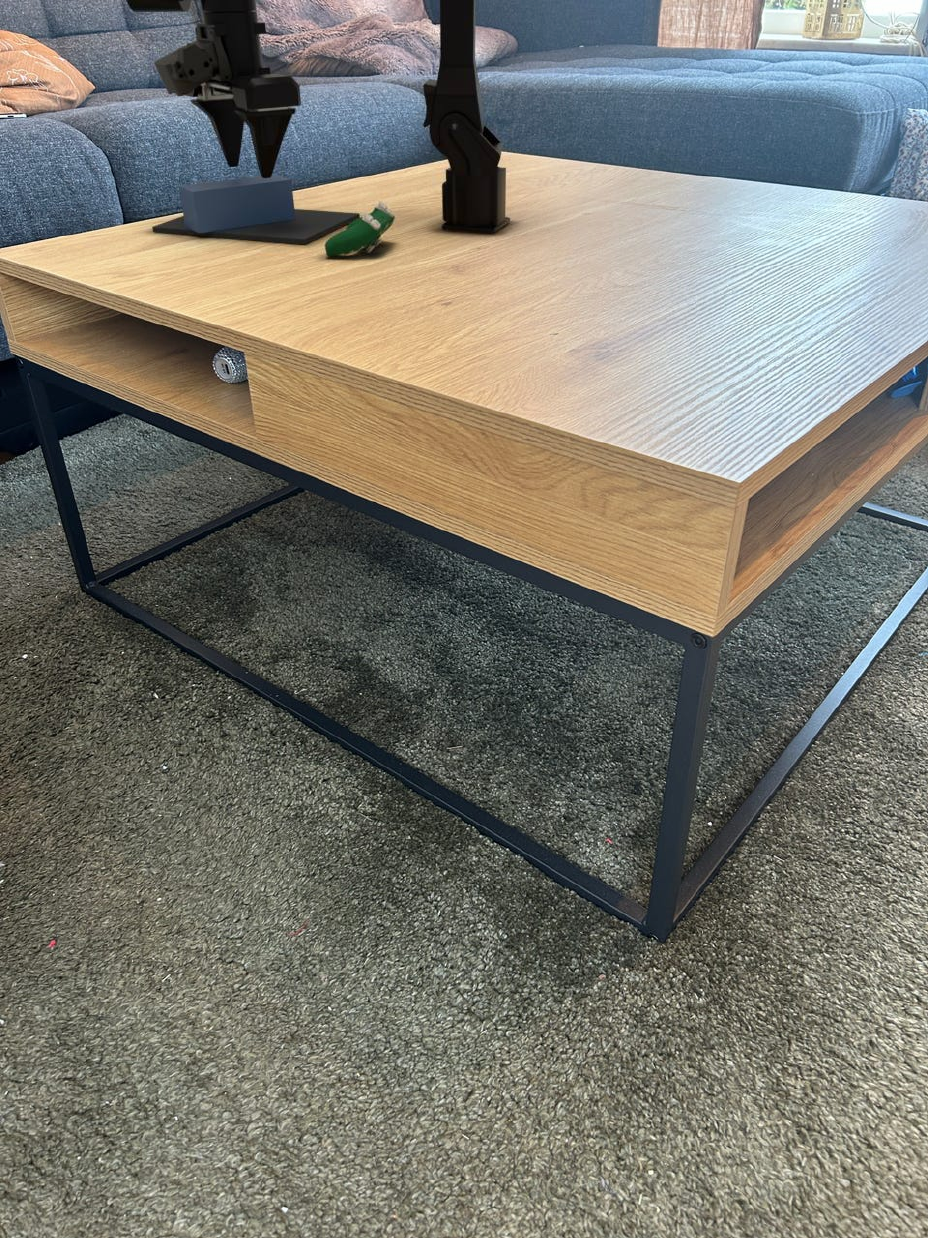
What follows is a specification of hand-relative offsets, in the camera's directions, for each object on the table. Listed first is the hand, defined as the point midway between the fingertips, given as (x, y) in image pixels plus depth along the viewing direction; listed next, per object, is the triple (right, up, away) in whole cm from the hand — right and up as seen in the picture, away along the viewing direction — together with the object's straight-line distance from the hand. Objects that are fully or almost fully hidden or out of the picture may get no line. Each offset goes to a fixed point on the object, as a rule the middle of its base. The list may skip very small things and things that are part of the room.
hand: (249, 171), depth 110 cm
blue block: (+3, -1, +4) cm, 5 cm away
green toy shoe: (+14, -12, -7) cm, 19 cm away
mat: (0, -5, +4) cm, 6 cm away
